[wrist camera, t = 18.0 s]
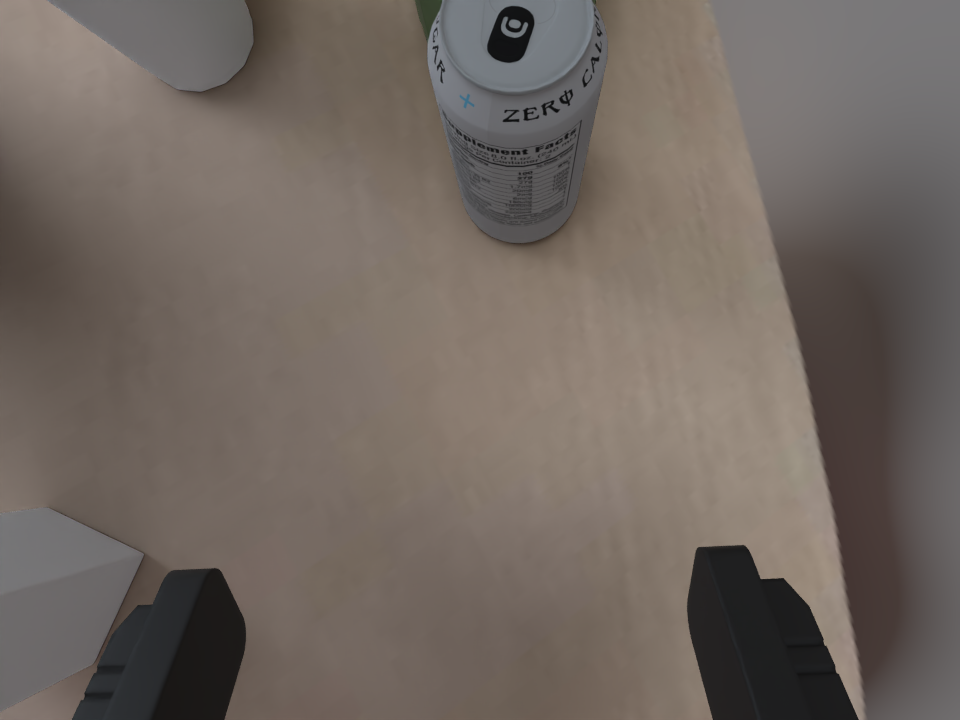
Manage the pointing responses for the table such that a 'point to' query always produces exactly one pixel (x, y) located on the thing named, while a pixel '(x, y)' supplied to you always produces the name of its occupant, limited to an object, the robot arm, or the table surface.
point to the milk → (55, 598)
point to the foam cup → (172, 36)
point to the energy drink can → (518, 106)
